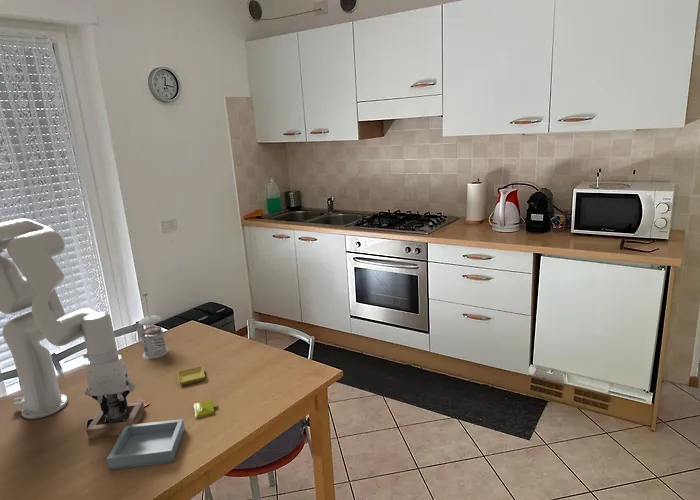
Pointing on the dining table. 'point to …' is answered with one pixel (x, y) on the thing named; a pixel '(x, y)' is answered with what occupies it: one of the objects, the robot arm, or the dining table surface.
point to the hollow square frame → (114, 429)
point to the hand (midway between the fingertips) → (115, 410)
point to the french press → (152, 337)
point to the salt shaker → (114, 410)
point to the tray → (146, 444)
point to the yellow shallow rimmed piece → (191, 375)
